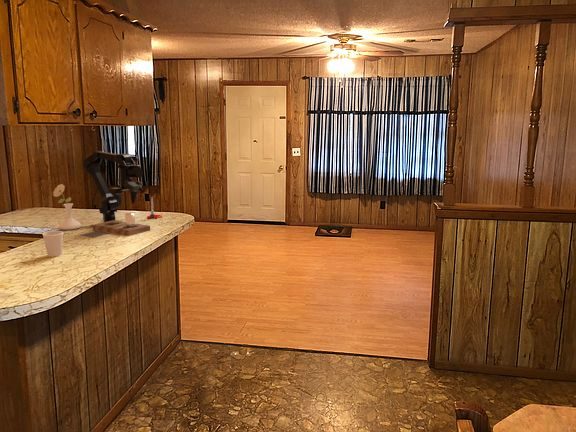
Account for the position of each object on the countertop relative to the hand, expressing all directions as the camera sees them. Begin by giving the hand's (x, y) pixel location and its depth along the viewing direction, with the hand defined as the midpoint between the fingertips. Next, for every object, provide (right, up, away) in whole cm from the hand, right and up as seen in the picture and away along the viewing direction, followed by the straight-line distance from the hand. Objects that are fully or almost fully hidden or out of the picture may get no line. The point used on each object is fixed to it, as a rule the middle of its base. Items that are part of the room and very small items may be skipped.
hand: (126, 204), depth 270 cm
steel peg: (+7, -15, -14) cm, 22 cm away
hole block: (+1, -14, -11) cm, 18 cm away
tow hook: (+9, -7, +25) cm, 28 cm away
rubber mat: (-10, -16, -21) cm, 28 cm away
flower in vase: (-29, -14, -8) cm, 33 cm away
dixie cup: (-12, -24, -58) cm, 63 cm away
